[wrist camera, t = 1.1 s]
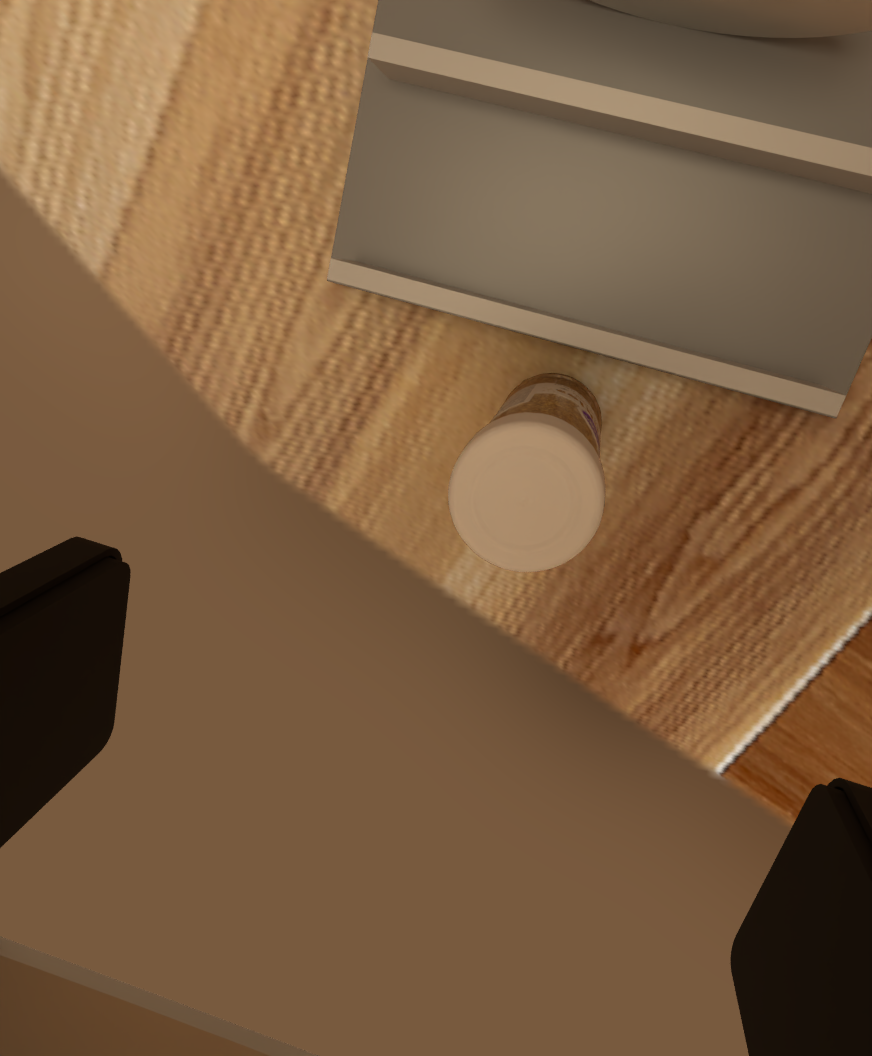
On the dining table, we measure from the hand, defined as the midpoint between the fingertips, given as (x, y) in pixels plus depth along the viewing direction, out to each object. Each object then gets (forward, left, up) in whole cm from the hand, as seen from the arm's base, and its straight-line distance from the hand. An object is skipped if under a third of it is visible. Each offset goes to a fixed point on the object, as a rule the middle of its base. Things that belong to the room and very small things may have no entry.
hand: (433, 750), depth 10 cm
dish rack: (0, -12, -26) cm, 28 cm away
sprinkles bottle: (0, 0, -26) cm, 26 cm away
